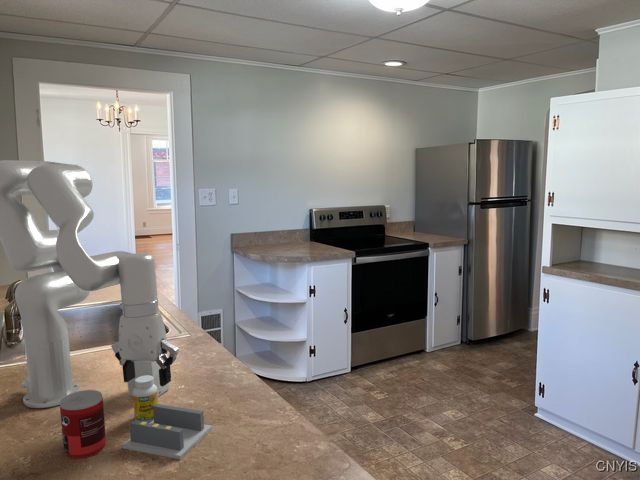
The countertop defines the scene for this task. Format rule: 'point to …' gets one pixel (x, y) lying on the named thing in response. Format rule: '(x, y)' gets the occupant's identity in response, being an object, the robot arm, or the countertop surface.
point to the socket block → (168, 432)
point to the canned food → (83, 423)
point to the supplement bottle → (144, 398)
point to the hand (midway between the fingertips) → (147, 381)
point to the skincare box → (147, 369)
